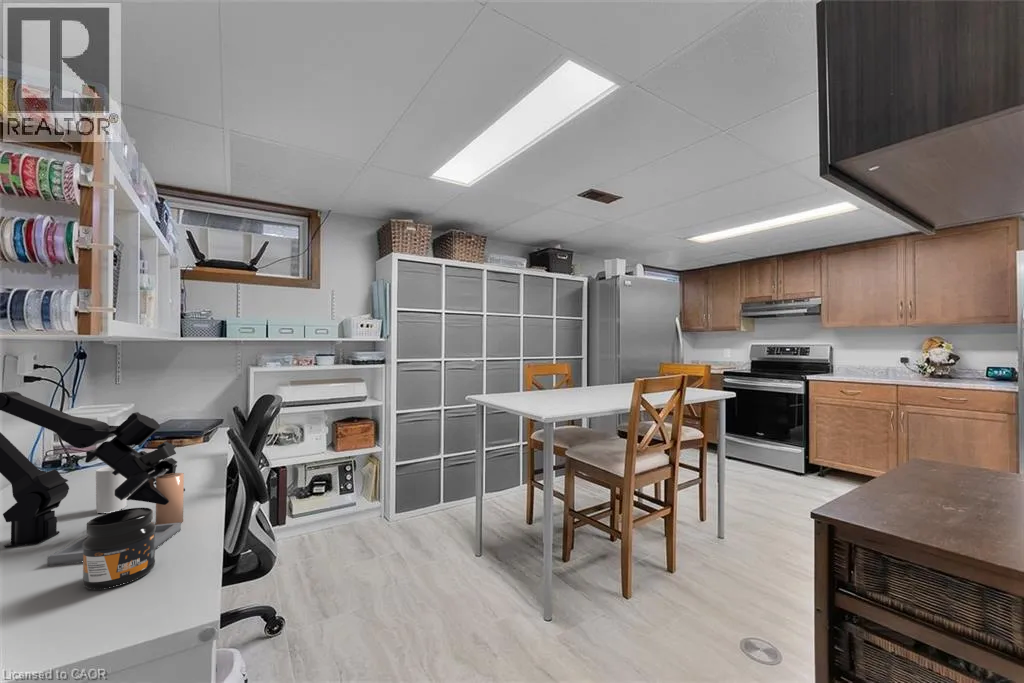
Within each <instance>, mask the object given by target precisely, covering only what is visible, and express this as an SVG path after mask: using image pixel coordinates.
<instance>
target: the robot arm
mask: <svg viewBox="0 0 1024 683" xmlns="http://www.w3.org/2000/svg"><path fill="white" fill-rule="evenodd" d="M0 411H1V412H4V413H6V414H9V415H12V416H14V417H16V418H19V419H20V420H21V419H22V420H24V421H27V422H29V423H32V424H34V425H37V426H40V427H42V428H44V429H47V430H49V431H52V432H53V433H55V434H56V435H57V436H58V437H59V438H60V440H62V441H63V442H65V443H67V444H68V445H70V446H71V447H74V448H77V449H86V448H89V447H92V446H95V445H98V446H97V447H96V448H95V449H90V450H88V451H86V452H85V455H86V457H85V460H84V462H85V463H86V464H88V463H91V462H93V461H96V460H98V459H99V460H100V461H101V462H103V463H104V464H105V465H107V467H108V466H110V467H111V468H112V469H114V470H115V471H114V472H112V474H114V475H118V474H121V475H122V476H123V477H125V478H126V479H127V480H125V481H124V482H123V483H122V484H121V485H120V486H119V487H118V488H117V489H115V496H116V497H117V498H119V499H120V500H123V499H125V498H127V497H128V496H129V494H131V495H130V496H129V497H128V498H127V499H126V500H127V501H139V502H144V503H152V504H155V505H156V504H162V505H166V504H167V503H168V502H169V500H168V499H167V498H166V497H165V496H164V495H163V494H162V493H161V492H160V491H159V490H158V489H157V488H156V477H158V476H161V475H165V474H171V473H176V470H177V467H178V465H177V464H178V461H177V460H176V459H174V458H173V457H172V456H175V455H176V454H177V453H176V450H175V449H176V445H173V443H171V442H170V443H169V442H168V441H163V442H162V443H160V444H158V445H157V446H156V447H157V448H156V449H155V450H152V451H150V452H148V453H147V451H145V450H144V451H143V450H142V451H137V450H136V449H134V447H133V446H142V444H143V443H144V442H146V441H147V440H148V439H149V438H150V437H151V436H152V435H153V434H155V433H156V432H157V431H158V430H159V429H160V428H161V426H160V424H159V423H158V421H156V420H155V419H154V418H152V417H149V416H146V414H145V415H144V414H141V413H140V412H139V411H136V412H132V413H131V414H130V415H129V416H127V418H126V419H125V420H124V421H123V422H122V423H121V424H119V425H109V424H108V423H106V422H105V421H101V420H96V419H93V418H90V417H89V418H88V417H81V416H75V415H72V414H68V413H66V412H64V411H62V410H59V409H57V408H54V407H51V406H49V405H47V404H44V403H41V402H39V401H36V400H34V399H32V398H29V397H26V396H25V395H22V394H21V393H20V392H17V391H14V390H13V391H1V392H0ZM109 438H112V439H111V440H110V441H107V440H108V439H109ZM0 474H1V475H2V476H3V477H4V478H5V479H6V480H7V481H8V482H9V483H10V485H11V489H12V490H11V491H12V492H11V493H12V497H13V499H14V500H15V501H16V503H14V504H13V505H12V506H11V507H9V508H8V509H7V510H6V511H5V512H3V514H2V516H3V518H4V520H5V522H6V523H10V525H11V526H10V542H9V543H6V544H4V545H3V546H4V548H12V547H13V548H14V547H21V546H23V547H24V546H33V545H38V544H41V543H43V542H45V541H47V540H49V539H51V538H52V537H55V536H56V535H59V534H61V533H60V532H61V531H60V530H57V529H58V528H57V527H58V526H57V525H58V524H57V522H58V520H57V519H58V518H57V516H55V514H56V513H55V512H56V511H55V510H54V509H57V508H58V507H60V505H61V502H62V501H63V500H64V499H65V498H66V497H67V496H68V494H69V490H70V487H69V484H68V482H69V480H68V479H66V478H64V476H62V475H61V473H60V472H59V470H57V469H56V468H54V469H52V470H49V471H44V470H41V469H40V468H38V467H37V466H36V465H34V463H32V461H31V460H30V459H29V458H27V457H26V456H25V455H24V454H23V453H22V452H21V450H19V449H18V448H17V447H16V446H15V445H14V444H13V443H12V442H11V441H10V440H9V439H8V438H7V436H5V435H4V434H3V433H2V432H1V431H0ZM185 491H186V488H185V487H184V492H185Z"/></svg>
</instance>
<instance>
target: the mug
mask: <svg viewBox="0 0 1024 683" xmlns="http://www.w3.org/2000/svg"><path fill="white" fill-rule="evenodd" d="M114 471H115V470H114V469H112V468H111V467H110V466H108V465H107V466H103V467H100V468H98V469H97V468H96V469H95V509H96V513H97V514H98V513H104V512H110V511H114V510H118V509H121V508H124V507H125V506H128V505H127V504H128V500H126V499H127V498H128V497H129V496H130V495H131V494H129V496H128V497H127V498H125V499H123V500H120V499H119V498H117V497H116V496H115V489H117V488H118V487H119V486H120V485H121V484H122V483H123V482H124V481H125V480H127V479H126V478H125V477H123V476H122V475H121V474H118V475H114V474H112V472H114Z"/></svg>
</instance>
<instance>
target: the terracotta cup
mask: <svg viewBox="0 0 1024 683" xmlns="http://www.w3.org/2000/svg"><path fill="white" fill-rule="evenodd" d="M184 476H185V475H184V473H183V472H175V473H171V474H165V475H161V476H158V477H156V481H155V482H156V485H155V487H156V488H157V489H158V490H159V491H160V492H161V493H162V494H163V495H164V496H165V497H166V498H167V499H168V500H169V502H168V503H167V504H166V505H162V504H156V503H155V523H154V524H155V525H159V524H169V523H179V522H181V524H183V523H184V496H185V495H184V494H185V493H184V492H185V491H184V488H185V487H184V484H185V482H184V481H185V480H184V479H185V477H184ZM182 522H183V523H182Z"/></svg>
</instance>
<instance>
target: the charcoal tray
mask: <svg viewBox="0 0 1024 683" xmlns="http://www.w3.org/2000/svg"><path fill="white" fill-rule="evenodd" d="M155 526H156V530H155V549H156V548H157V547H158V546H160V545H161V544H162V545H164V544H165V543H166V542H167V540H168V539H169V538H170V539H171V538H173V537H174V536H175V535H177V534H178V533H180V532H181V531H182V529H181V528H182V527H181V526H182V523H181V522H179V523H169V524H159V525H155ZM180 530H181V531H180ZM177 532H178V533H177ZM176 533H177V534H176ZM173 535H174V536H173ZM87 536H88V534H87V533H86V535H84V536H82V537H81V538H79V539H77V540H74V541H73V542H71V543H69V544H68V545H65V546H64V547H62V548H60V549H59V550H57V551H55V552H54V553H52V554H50V555H48V556H47V567H52V566H53V567H54V566H61V565H72V564H78V563H77V562H80V563H83V562H82V561H83V546H82V544H83V541H84V539H85V538H86V537H87ZM172 536H173V537H172ZM170 539H169V540H170ZM169 540H168V541H169ZM165 541H166V542H165ZM164 542H165V543H164ZM163 543H164V544H163ZM162 545H161V546H162ZM161 546H160V547H161ZM158 548H159V547H158ZM158 548H157V549H158ZM157 549H156V550H157Z"/></svg>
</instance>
